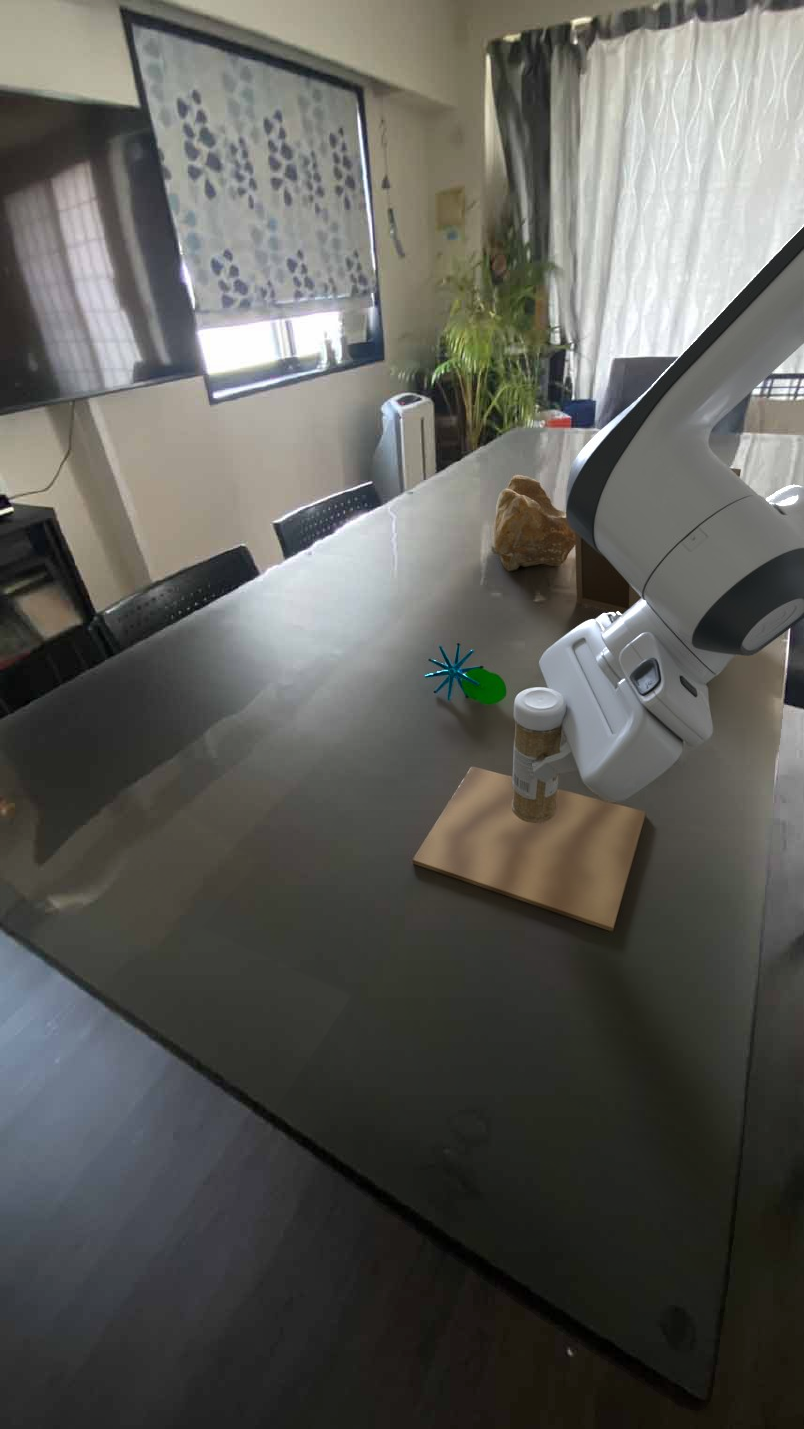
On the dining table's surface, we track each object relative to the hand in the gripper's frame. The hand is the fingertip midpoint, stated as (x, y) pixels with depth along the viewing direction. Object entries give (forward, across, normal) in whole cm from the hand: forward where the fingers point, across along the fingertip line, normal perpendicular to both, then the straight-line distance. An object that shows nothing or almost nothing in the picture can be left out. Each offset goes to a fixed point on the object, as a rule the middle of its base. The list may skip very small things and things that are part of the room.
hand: (530, 754), depth 60 cm
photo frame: (-9, -45, +26) cm, 53 cm away
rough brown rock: (-2, -75, +19) cm, 78 cm away
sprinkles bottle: (+5, 0, +6) cm, 7 cm away
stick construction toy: (+10, -29, +6) cm, 32 cm away
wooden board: (+8, 0, +8) cm, 11 cm away
